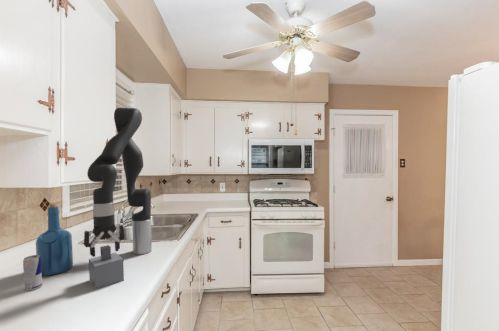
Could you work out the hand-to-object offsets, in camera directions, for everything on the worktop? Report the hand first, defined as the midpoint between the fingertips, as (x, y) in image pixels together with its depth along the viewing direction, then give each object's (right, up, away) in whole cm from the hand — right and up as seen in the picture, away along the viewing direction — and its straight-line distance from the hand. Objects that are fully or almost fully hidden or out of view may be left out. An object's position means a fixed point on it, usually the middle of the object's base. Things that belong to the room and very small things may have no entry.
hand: (105, 253), depth 108 cm
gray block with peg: (0, -11, 0) cm, 11 cm away
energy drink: (-25, -12, -5) cm, 28 cm away
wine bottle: (-28, -12, +11) cm, 32 cm away
